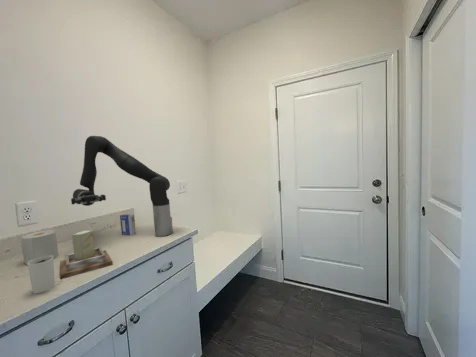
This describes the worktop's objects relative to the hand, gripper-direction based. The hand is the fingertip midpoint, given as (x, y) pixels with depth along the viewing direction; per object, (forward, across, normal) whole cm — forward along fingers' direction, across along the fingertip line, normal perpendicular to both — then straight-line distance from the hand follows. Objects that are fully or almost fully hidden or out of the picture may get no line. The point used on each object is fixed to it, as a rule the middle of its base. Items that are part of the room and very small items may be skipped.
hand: (90, 200), depth 109 cm
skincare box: (+15, -5, +24) cm, 28 cm away
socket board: (+15, -5, +25) cm, 29 cm away
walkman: (-18, +19, +25) cm, 36 cm away
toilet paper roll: (-8, -20, +25) cm, 33 cm away
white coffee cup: (+28, -18, +25) cm, 42 cm away
